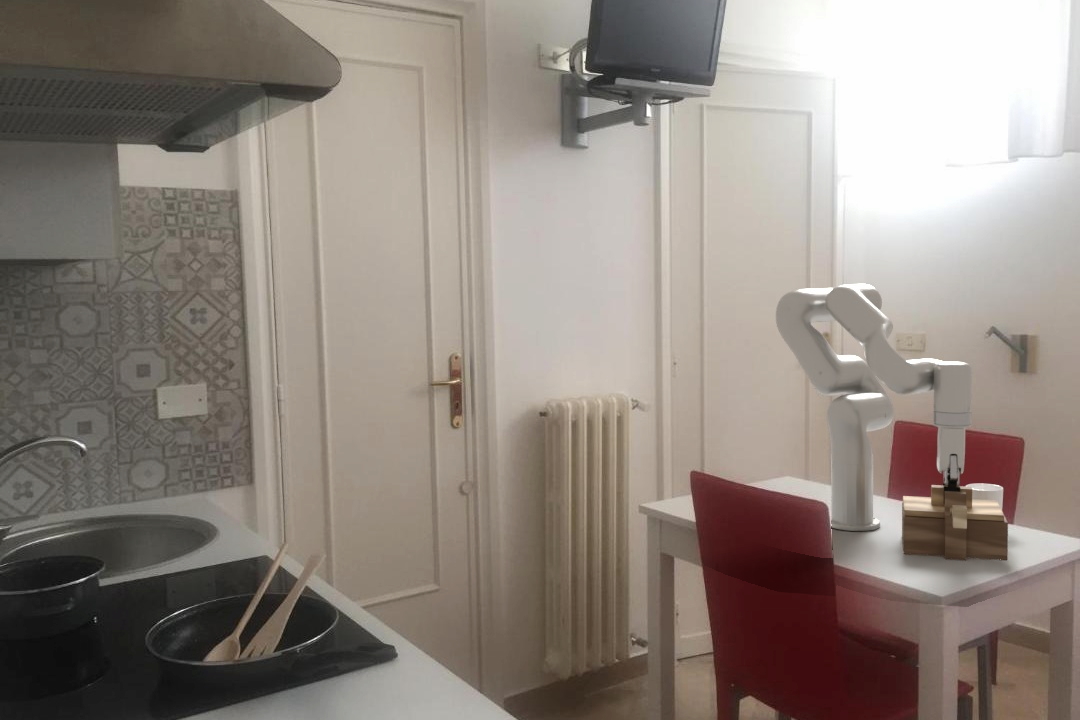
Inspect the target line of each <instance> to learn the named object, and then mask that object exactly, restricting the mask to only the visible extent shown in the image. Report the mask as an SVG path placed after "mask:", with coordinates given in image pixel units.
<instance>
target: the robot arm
mask: <svg viewBox="0 0 1080 720" xmlns="http://www.w3.org/2000/svg"><path fill="white" fill-rule="evenodd" d="M882 304H883V299H882V296H881V294H880V292H879V291H878V289H876V287H874V286H873V285H871V284H866V283H851V284H850V283H849V284H841V285H837V286H835V287H823V288H822V287H821V288H819V287H817V288H800V289H795V290H791V291H788V292H786V293H785V294H783V296H781V297H780V299H779V301H778V302H777V306H776V309H775V323H776V327H777V329H778V333H779V334H780V336H781V338H782V339H783V340H784V343H786V345H787V346H788V347H789V349H790V350H791V352H792V353H793V354H794V356H795V358H796V359H797V362H798V363H799V366H800V367H801V368H802V370H803V372H804V374H805V375H806V376H807V379H808V380H809V381H810V383H811V385H812V386H813V389H815V391H816V392H817V393H818V394H820V395H822V396H826V397H827V396H828V397H829V396H837V397H836V398H834V399H833V400H831V402H830V403H829V404H828V407H827V409H826V422H827V427H828V428H827V429H828V433H829V439H830V461H831V462H830V469H831V470H830V477H831V478H830V480H831V481H830V482H831V483H830V484H831V485H830V487H831V491H830V492H831V494H830V495H831V496H830V497H831V499H830V501H831V507H830V509H831V514H830V515H831V524H832V527H831V528H832V529H837V530H840V531H841V530H842V531H848V532H849V531H850V532H867V531H872V530H876V529H879V528H880V526H881V520H879V519H878V518H876V517H874V454H873V453H874V451H873V446H872V443H871V441H870V438H869V435H868V432H873V431H878V430H881V429H882V430H883V429H884V428H886V427H888V426H889V425H890V424H891V422H892V421H893V419H894V416H895V408H894V404H893V402H892V400H891V398H890V396H889V394H888V392H887V391H886V390H885V387H884V386H883V385H882V384H884V385H885V386H886V387H887V388H888V389H889V390H890V391H893V392H894V393H895V394H898V395H901V396H910V395H911V396H912V395H917V394H926V393H933V413H932V415H933V416H932V417H933V418H932V419H933V424H932V425H933V426H934V427H937V429H938V430H937V442H936V443H937V444H936V446H937V450H936V452H937V453H936V469H937V471H938V473H940V474H943V482H942V485H943V486H944V505H945V491H952V492H960V487H959V486H960V476H961V475H962V474H963V473H964V470H965V458H966V457H965V455H966V429H969V428H971V427H972V422H973V421H972V412H973V411H972V407H973V403H972V400H973V398H972V397H973V368H972V365H971V364H970V363H967V362H963V361H943V360H939V359H935V358H920V359H918V358H917V359H908V360H906V359H905V358H904V357H903V356H901V355H900V354H899V353H898V352H897V351H896V350H895V349H894V348H893V347H892V346H891V344H890V343H889V341H888V339H889V338H890V336H891V334H892V332H893V329H894V324H893V322H892V320H891V319H890V318H889V317H888V316H886V314H884V312H882V311H881V309H882ZM826 322H837V323H839V325H840V326H841V327H843V328H844V329H845V331H846V332H848V333H849V335H850V336H851V337H852V338H853V339H854V340H856V341H857V343H859V344H860V345H861V347H862V349H863V355H864V358H865V360H864V359H863V358H861V357H859V356H857V355H853V354H842V355H839V354H837V353H836V352H835V350H834V349H833V348H832V346H831V345H830V343H829V341H828V340H827V338H826V337H825V336H824V334H822V333H821V332H820V331H819V330H818V329H817V328H815V327H814V326H813V325H812V324H813V323H826ZM838 395H840V396H838Z"/></svg>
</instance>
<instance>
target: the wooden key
mask: <svg viewBox="0 0 1080 720" xmlns="http://www.w3.org/2000/svg"><path fill="white" fill-rule="evenodd" d="M952 518H953V528H964V529H967V507H966V506H961V505H953V511H952Z"/></svg>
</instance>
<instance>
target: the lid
mask: <svg viewBox="0 0 1080 720" xmlns="http://www.w3.org/2000/svg"><path fill="white" fill-rule="evenodd" d="M930 486H931V487H930V496H929V497H928V496H916V495H915V496H914V495H913V496H911V495H910V496H909V495H903V496H902V502H903V506H904V515H905V516H913V517H933V518H945V505H944V486H943V484H942V485H939V484H937V485H936V484H931V485H930ZM959 487H960V492H966V507H967V519H972V520H991V521H1004V516H1005V514H1004V512H1003V509H1002V510H1001V508H1000V506H999V504H998V502H997V501H994V500H974V499H972V487H966V486H963V485H962V486H961V485H959ZM952 511H953V507H950V513H951V514H952Z"/></svg>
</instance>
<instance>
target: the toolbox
mask: <svg viewBox="0 0 1080 720" xmlns="http://www.w3.org/2000/svg"><path fill="white" fill-rule="evenodd" d="M953 505H961V506H966V492H952V491H945V518H933V517H913V516H905V515H904V506H903V501H901V513H902V514H901V517H902V518H901V529H902V530H901V534H902V535H901V536H902V537H901V539H902V549H903V554H904V555H916V556H933V557H944V559H945V560H955V561H965V562H966V561H967V559H976V558H979V559H978V560H980V559H981V560H991V559H999V560H998V561H1007V560H1008V557H1009V556H1008V555H1009V554H1008V553H1009V552H1008V549H1009V547H1008V546H1009V545H1008V544H1009V540H1008V539H1009V538H1008V537H1009V523H1008V522H1009V521H1008V520H1007V518H1006V516H1005V515H1004V521H991V520H972V519H967V529H964V528H953V518H952V514H951V513H950V507H953ZM1000 559H1001V560H1000Z"/></svg>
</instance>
